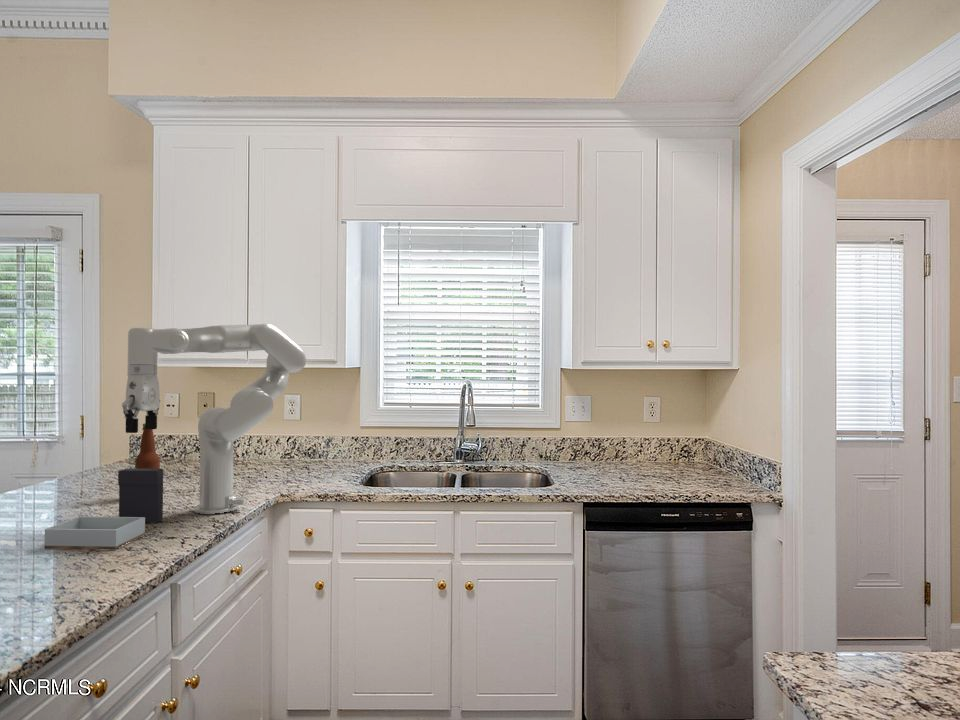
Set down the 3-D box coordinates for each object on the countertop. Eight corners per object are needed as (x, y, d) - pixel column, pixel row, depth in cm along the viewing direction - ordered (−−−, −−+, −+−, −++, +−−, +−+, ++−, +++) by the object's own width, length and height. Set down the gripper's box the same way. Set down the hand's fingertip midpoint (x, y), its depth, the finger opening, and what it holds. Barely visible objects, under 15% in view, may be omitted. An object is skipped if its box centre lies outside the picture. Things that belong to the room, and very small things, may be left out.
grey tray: (144, 532, 163) (145, 517, 163) (116, 546, 151) (116, 530, 151) (78, 531, 164) (79, 516, 164) (44, 545, 151) (44, 529, 151)
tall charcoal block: (164, 519, 179) (164, 468, 179) (156, 523, 175) (157, 470, 175) (125, 519, 179) (126, 467, 179) (117, 523, 175) (117, 470, 175)
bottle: (153, 494, 212) (154, 421, 213) (163, 497, 208) (164, 423, 208) (130, 498, 207) (131, 423, 207) (140, 501, 202) (141, 424, 202)
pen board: (144, 535, 163) (144, 532, 163) (115, 550, 151) (116, 546, 151) (78, 534, 164) (78, 531, 164) (44, 548, 151) (44, 545, 151)
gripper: (138, 371, 169) (137, 434, 168) (171, 370, 186) (170, 427, 186) (111, 371, 169) (110, 434, 169) (146, 370, 186) (145, 427, 186)
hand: (141, 430), depth 177 cm, fingers open, 9 cm apart
